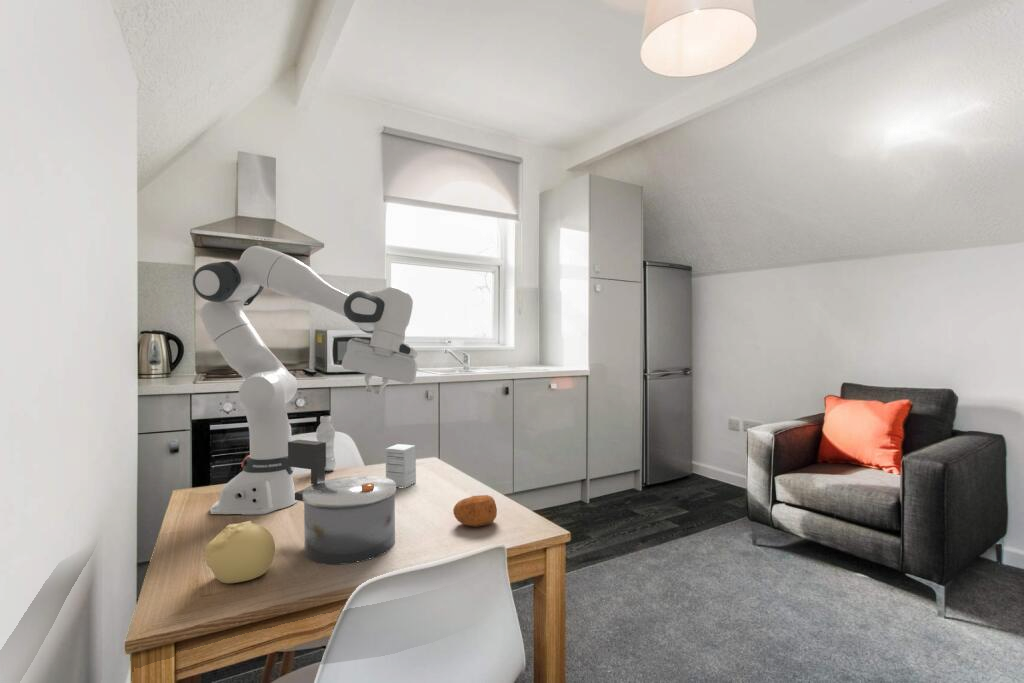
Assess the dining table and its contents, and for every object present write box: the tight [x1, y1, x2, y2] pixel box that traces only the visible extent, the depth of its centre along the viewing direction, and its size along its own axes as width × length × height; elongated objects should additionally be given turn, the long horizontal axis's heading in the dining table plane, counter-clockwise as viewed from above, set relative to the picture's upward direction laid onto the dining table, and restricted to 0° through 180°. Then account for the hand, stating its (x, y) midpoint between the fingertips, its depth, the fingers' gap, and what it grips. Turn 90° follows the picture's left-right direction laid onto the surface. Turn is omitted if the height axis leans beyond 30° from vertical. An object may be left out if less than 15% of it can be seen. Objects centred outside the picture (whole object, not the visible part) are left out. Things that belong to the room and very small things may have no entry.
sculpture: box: [204, 520, 276, 584], centre depth 101 cm, size 12×12×11 cm
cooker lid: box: [288, 439, 397, 508], centre depth 117 cm, size 28×21×11 cm
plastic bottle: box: [315, 415, 337, 472], centre depth 182 cm, size 6×7×20 cm
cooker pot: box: [295, 488, 396, 565], centre depth 117 cm, size 27×20×12 cm
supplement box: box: [385, 443, 417, 489], centre depth 164 cm, size 7×7×13 cm
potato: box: [453, 494, 498, 528], centre depth 128 cm, size 9×11×8 cm
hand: (372, 392), depth 137 cm, fingers closed
